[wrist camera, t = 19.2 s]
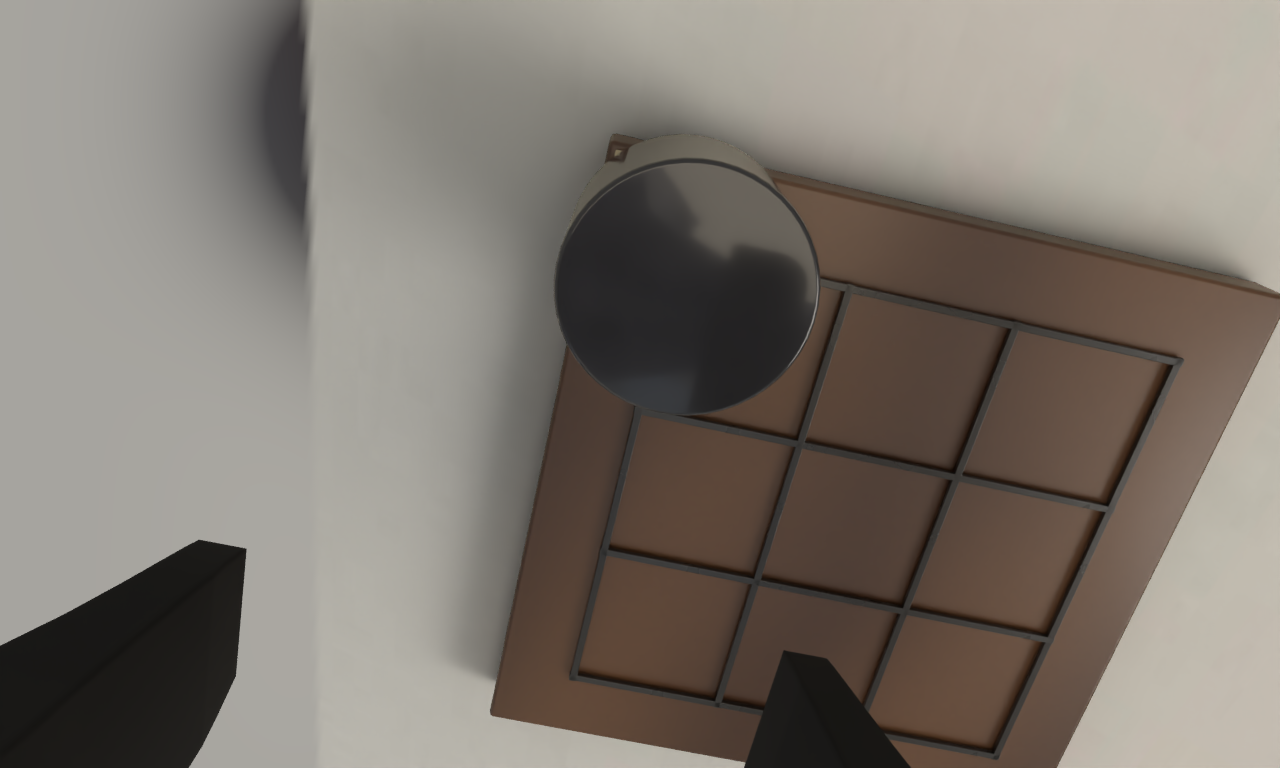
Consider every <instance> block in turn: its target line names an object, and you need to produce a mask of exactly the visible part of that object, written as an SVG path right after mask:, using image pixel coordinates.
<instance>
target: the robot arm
mask: <svg viewBox="0 0 1280 768" xmlns="http://www.w3.org/2000/svg"><path fill="white" fill-rule="evenodd" d="M245 559H246V549H245V548H240V547H234V546H229V545H224V544H219V543H213V542H208V541H203V540H198V541H196V542H194V543H192V544H190V545H188V546H186V547H184V548H183V549H181V550H179V551H177V552H175V553H174V554H172V555H170V556H168V557H166V558H165V559H163V560H161V561H159V562H158V563H156V564H154V565H152V566H151V567H149V568H147V569H146V570H144V571H142V572H140V573H138V574H137V575H135V576H133V577H132V578H130V579H128V580H126V581H124V582H123V583H121V584H119V585H117V586H115V587H113V588H112V589H110V590H108V591H106V592H104V593H102V594H101V595H99V596H97V597H95V598H93V599H92V600H90V601H88V602H86V603H84V604H82V605H81V606H79V607H77V608H75V609H73V610H72V611H69V612H68V613H66V614H64V615H62V616H60V617H58V618H56V619H54V620H52V621H50V622H48V623H46V624H43V625H41V626H39V627H37V628H35V629H34V630H31V631H29V632H27V633H25V634H23V635H21V636H19V637H17V638H15V639H13V640H11V641H9V642H7V643H5V644H3V645H1V646H0V768H189V766H190V765H191V763H192V761H193V760H194V758H195V757H196V755H197V754H198V752H199V750H200V748H201V747H202V745H203V743H204V741H205V739H206V737H207V735H208V733H209V731H210V729H211V727H212V725H213V723H214V721H215V719H216V717H217V715H218V713H219V711H220V709H221V706H222V704H223V702H224V700H225V698H226V696H227V694H228V692H229V689H230V687H231V685H232V683H233V681H234V679H235V677H236V668H237V656H238V644H239V631H240V619H241V608H242V595H243V584H244V572H245ZM744 768H911V767H910V765H909V764H908V763H907V762H906V760H905V759H904V758H903V757H902V755H901V754H900V753H899V752H898V750H897V749H896V748H895V747H894V745H893V744H892V743H891V741H890V740H889V739H888V737H887V736H886V735H885V734H884V732H883V731H882V730H881V728H880V727H879V726H878V724H877V723H876V722H875V720H874V719H873V718H872V716H871V715H870V714H869V712H868V711H867V710H866V708H865V707H864V706H863V704H862V703H861V702H860V700H859V699H858V698H857V696H856V695H855V694H854V692H853V691H852V690H851V688H850V687H849V686H848V684H847V683H846V682H845V680H844V679H843V678H842V676H841V675H840V674H839V673H838V671H837V670H836V669H835V667H834V666H833V665H832V664H831V663H830V661H829V660H828V659H827V658H823V657H817V656H812V655H807V654H801V653H796V652H791V651H786V650H784V651H783V653H782V656H781V659H780V662H779V665H778V668H777V671H776V674H775V677H774V680H773V683H772V686H771V689H770V692H769V695H768V698H767V701H766V704H765V707H764V710H763V713H762V716H761V719H760V722H759V725H758V728H757V731H756V734H755V737H754V740H753V743H752V746H751V749H750V752H749V755H748V758H747V761H746V763H745V766H744Z"/></svg>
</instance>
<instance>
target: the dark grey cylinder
mask: <svg viewBox="0 0 1280 768" xmlns="http://www.w3.org/2000/svg"><path fill="white" fill-rule="evenodd" d="M820 291H821V282H820V268H819V262H818V256H817V253H816V249H815V246H814V243H813V240H812V237H811V235H810V233H809V231H808V229H807V227H806V225H805V223H804V221H803V220H802V218H801V217H800V215H799V214H798V212H797V211H796V209H795V208H794V206H793V205H792V204H791V202H790V201H789V200H788V198H787V197H786V196H785V194H784V193H783V192H782V190H781V189H780V188H779V186H778V185H777V184H776V182H775V181H774V180H773V178H772V177H771V176H770V175H769V174H768V173H767V171H766V170H765V169H764V168H763V167H762V166H761V165H760V164H759V163H758V162H756V161H755V160H754V159H753V158H752V157H751V156H749V155H748V154H746V153H744V152H743V151H741V150H740V149H738V148H736V147H734V146H732V145H730V144H728V143H726V142H723V141H720V140H717V139H714V138H710V137H705V136H699V135H691V134H675V135H665V136H660V137H656V138H652V139H648V140H645V141H643V142H640V143H637V144H635V145H633V146H631V147H629V148H627V149H625V150H624V151H622V152H620V153H619V154H617V155H616V156H615V157H613V158H612V159H611V160H609V161H608V162H607V163H606V164H605V165H604V166H603V167H602V168H601V169H600V170H599V171H598V172H597V173H596V174H595V175H594V176H593V178H592V179H591V180H590V181H589V183H588V184H587V186H586V187H585V189H584V191H583V192H582V194H581V196H580V198H579V200H578V202H577V205H576V207H575V210H574V212H573V215H572V218H571V220H570V223H569V226H568V228H567V231H566V234H565V237H564V239H563V242H562V245H561V248H560V251H559V255H558V259H557V262H556V269H555V276H554V301H555V308H556V315H557V318H558V322H559V325H560V329H561V332H562V334H563V336H564V339H565V341H566V343H567V345H568V347H569V349H570V350H571V352H572V354H573V356H574V357H575V359H576V360H577V361H578V363H579V364H580V365H581V367H582V368H583V369H584V370H585V372H586V373H587V374H588V375H589V376H590V377H591V378H592V379H593V380H594V381H596V382H597V383H598V384H599V385H600V386H601V387H603V388H604V389H605V390H607V391H608V392H609V393H611V394H613V395H614V396H616V397H618V398H620V399H621V400H623V401H625V402H627V403H629V404H632V405H634V406H637V407H639V408H642V409H646V410H649V411H653V412H656V413H663V414H669V415H688V416H690V415H701V414H708V413H713V412H718V411H722V410H725V409H728V408H731V407H734V406H737V405H739V404H741V403H743V402H745V401H747V400H749V399H752V398H753V397H755V396H757V395H758V394H760V393H761V392H763V391H764V390H766V389H767V388H768V387H770V386H771V385H772V384H773V383H774V382H776V381H777V380H778V379H779V378H780V377H781V376H782V375H783V374H784V373H785V372H786V371H787V370H788V369H789V368H790V367H791V365H792V364H793V363H794V361H795V360H796V359H797V357H798V356H799V354H800V353H801V351H802V350H803V348H804V346H805V344H806V342H807V340H808V339H809V336H810V334H811V331H812V329H813V326H814V323H815V320H816V316H817V312H818V308H819V301H820Z"/></svg>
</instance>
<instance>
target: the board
mask: <svg viewBox="0 0 1280 768" xmlns="http://www.w3.org/2000/svg"><path fill="white" fill-rule="evenodd" d="M643 141H645V140H641V139H637V138H633V137H629V136H624V135H620V134H613V135H612V136H611V138H610V142H609V146H608V151H607V156H606V160H605V164H606V163H607V162H608V161H609V160H611V159H612V158H613V157H615V156H616V155H617V154H619V153H620V152H622V151H624V150H625V149H627V148H629V147H631V146H633V145H635V144H637V143H640V142H643ZM764 169H765V170H766V171H767V173H768V174H769V175H770V176H771V177H772V178H773V180H774V181H775V182H776V184H777V185H778V186H779V188H780V189H781V190H782V192H783V193H784V194H785V196H786V197H787V198H788V200H789V201H790V202H791V204H792V205H793V206H794V208H795V209H796V211H797V212H798V214H799V215H800V217H801V218H802V220H803V221H804V223H805V225H806V227H807V229H808V231H809V233H810V235H811V237H812V240H813V243H814V246H815V249H816V253H817V256H818V262H819V268H820V282H821V291H820V301H819V308H818V312H817V316H816V320H815V323H814V326H813V329H812V331H811V334H810V336H809V339H808V340H807V342H806V344H805V346H804V348H803V350H802V351H801V353H800V354H799V356H798V357H797V359H796V360H795V361H794V363H793V364H792V365H791V367H790V368H789V369H788V370H787V371H786V372H785V373H784V374H783V375H782V376H781V377H780V378H779V379H778V380H777V381H776V382H774V383H773V384H772V385H771V386H770V387H768V388H767V389H766V390H764V391H763V392H761V393H760V394H758V395H757V396H755V397H753V398H752V399H749V400H747V401H745V402H743V403H741V404H739V405H737V406H734V407H731V408H728V409H725V410H722V411H718V412H713V413H708V414H701V415H690V416H688V415H669V414H663V413H656V412H653V411H649V410H646V409H642V408H639V407H637V406H634V405H632V404H629V403H627V402H625V401H623V400H621V399H620V398H618V397H616V396H614V395H613V394H611V393H609V392H608V391H607V390H605V389H604V388H603V387H601V386H600V385H599V384H598V383H597V382H596V381H594V380H593V379H592V378H591V377H590V376H589V375H588V374H587V373H586V372H585V370H584V369H583V368H582V367H581V365H580V364H579V363H578V361H577V360H576V359H575V357H574V356H573V354H572V352H571V350H570V349H569V347H568V345H567V346H566V351H565V356H564V361H563V365H562V370H561V375H560V380H559V385H558V389H557V394H556V399H555V404H554V408H553V413H552V418H551V423H550V427H549V432H548V437H547V442H546V446H545V451H544V456H543V461H542V466H541V470H540V475H539V480H538V485H537V489H536V494H535V499H534V504H533V508H532V513H531V518H530V523H529V528H528V532H527V537H526V542H525V547H524V551H523V556H522V561H521V566H520V570H519V575H518V580H517V585H516V589H515V594H514V599H513V604H512V609H511V613H510V618H509V623H508V628H507V632H506V637H505V642H504V647H503V651H502V656H501V661H500V666H499V671H498V675H497V680H496V685H495V690H494V694H493V699H492V704H491V709H490V713H491V715H492V716H495V717H501V718H506V719H512V720H517V721H523V722H528V723H533V724H539V725H544V726H550V727H555V728H561V729H566V730H572V731H577V732H583V733H588V734H593V735H599V736H604V737H610V738H615V739H621V740H626V741H632V742H637V743H643V744H648V745H653V746H659V747H664V748H670V749H675V750H681V751H686V752H692V753H697V754H703V755H708V756H713V757H719V758H724V759H730V760H735V761H741V762H746V761H747V758H748V755H749V752H750V749H751V746H752V743H753V740H754V737H755V734H756V731H757V728H758V725H759V722H760V719H761V716H762V713H763V710H764V707H765V704H766V701H767V698H768V695H769V692H770V689H771V686H772V683H773V680H774V677H775V674H776V671H777V668H778V665H779V662H780V659H781V656H782V653H783V651H784V650H786V651H791V652H796V653H801V654H807V655H812V656H817V657H823V658H827V659H828V660H829V661H830V663H831V664H832V665H833V666H834V667H835V669H836V670H837V671H838V673H839V674H840V675H841V676H842V678H843V679H844V680H845V682H846V683H847V684H848V686H849V687H850V688H851V690H852V691H853V692H854V694H855V695H856V696H857V698H858V699H859V700H860V702H861V703H862V704H863V706H864V707H865V708H866V710H867V711H868V712H869V714H870V715H871V716H872V718H873V719H874V720H875V722H876V723H877V724H878V726H879V727H880V728H881V730H882V731H883V732H884V734H885V735H886V736H887V737H888V739H889V740H890V741H891V743H892V744H893V745H894V747H895V748H896V749H897V750H898V752H899V753H900V754H901V755H902V757H903V758H904V759H905V760H906V762H907V763H908V764H909V765H910V767H911V768H1057V766H1058V764H1059V762H1060V760H1061V758H1062V756H1063V754H1064V752H1065V750H1066V748H1067V746H1068V744H1069V742H1070V740H1071V738H1072V736H1073V734H1074V732H1075V730H1076V728H1077V726H1078V724H1079V722H1080V720H1081V718H1082V716H1083V714H1084V712H1085V710H1086V708H1087V706H1088V704H1089V702H1090V700H1091V698H1092V696H1093V694H1094V692H1095V690H1096V688H1097V686H1098V684H1099V682H1100V679H1101V677H1102V675H1103V673H1104V671H1105V669H1106V667H1107V665H1108V663H1109V661H1110V659H1111V657H1112V655H1113V653H1114V651H1115V649H1116V647H1117V645H1118V643H1119V641H1120V639H1121V637H1122V635H1123V633H1124V631H1125V629H1126V627H1127V625H1128V623H1129V621H1130V619H1131V617H1132V615H1133V613H1134V611H1135V609H1136V607H1137V605H1138V603H1139V601H1140V599H1141V597H1142V595H1143V593H1144V591H1145V589H1146V587H1147V585H1148V583H1149V581H1150V579H1151V577H1152V575H1153V573H1154V571H1155V569H1156V567H1157V565H1158V563H1159V561H1160V559H1161V557H1162V555H1163V553H1164V551H1165V549H1166V547H1167V545H1168V543H1169V541H1170V539H1171V537H1172V535H1173V533H1174V530H1175V528H1176V526H1177V524H1178V522H1179V520H1180V518H1181V516H1182V514H1183V512H1184V510H1185V508H1186V506H1187V504H1188V502H1189V500H1190V498H1191V496H1192V494H1193V492H1194V490H1195V488H1196V486H1197V484H1198V482H1199V480H1200V478H1201V476H1202V474H1203V472H1204V470H1205V468H1206V466H1207V464H1208V462H1209V460H1210V458H1211V456H1212V454H1213V452H1214V450H1215V448H1216V446H1217V444H1218V442H1219V440H1220V438H1221V436H1222V434H1223V432H1224V430H1225V428H1226V426H1227V424H1228V422H1229V420H1230V418H1231V416H1232V414H1233V412H1234V410H1235V408H1236V406H1237V404H1238V402H1239V400H1240V398H1241V396H1242V394H1243V392H1244V390H1245V388H1246V386H1247V384H1248V381H1249V379H1250V377H1251V375H1252V373H1253V371H1254V369H1255V367H1256V365H1257V363H1258V361H1259V359H1260V357H1261V355H1262V353H1263V351H1264V349H1265V347H1266V345H1267V343H1268V341H1269V339H1270V337H1271V335H1272V333H1273V331H1274V329H1275V327H1276V325H1277V323H1278V321H1279V319H1280V293H1278V292H1275V291H1273V290H1271V289H1269V288H1267V287H1264V286H1262V285H1260V284H1258V283H1255V282H1251V281H1247V280H1243V279H1238V278H1234V277H1230V276H1226V275H1221V274H1217V273H1213V272H1208V271H1204V270H1200V269H1195V268H1191V267H1187V266H1183V265H1178V264H1174V263H1170V262H1165V261H1161V260H1157V259H1153V258H1148V257H1144V256H1140V255H1135V254H1131V253H1127V252H1122V251H1118V250H1114V249H1110V248H1105V247H1101V246H1097V245H1092V244H1088V243H1084V242H1080V241H1075V240H1071V239H1067V238H1062V237H1058V236H1054V235H1049V234H1045V233H1041V232H1037V231H1032V230H1028V229H1024V228H1019V227H1015V226H1011V225H1006V224H1002V223H998V222H994V221H989V220H985V219H981V218H976V217H972V216H968V215H964V214H959V213H955V212H951V211H946V210H942V209H938V208H933V207H929V206H925V205H921V204H916V203H912V202H908V201H903V200H899V199H895V198H891V197H886V196H882V195H878V194H873V193H869V192H865V191H860V190H856V189H852V188H848V187H843V186H839V185H835V184H830V183H826V182H822V181H818V180H813V179H809V178H805V177H800V176H796V175H792V174H787V173H783V172H779V171H775V170H770V169H766V168H764Z"/></svg>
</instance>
